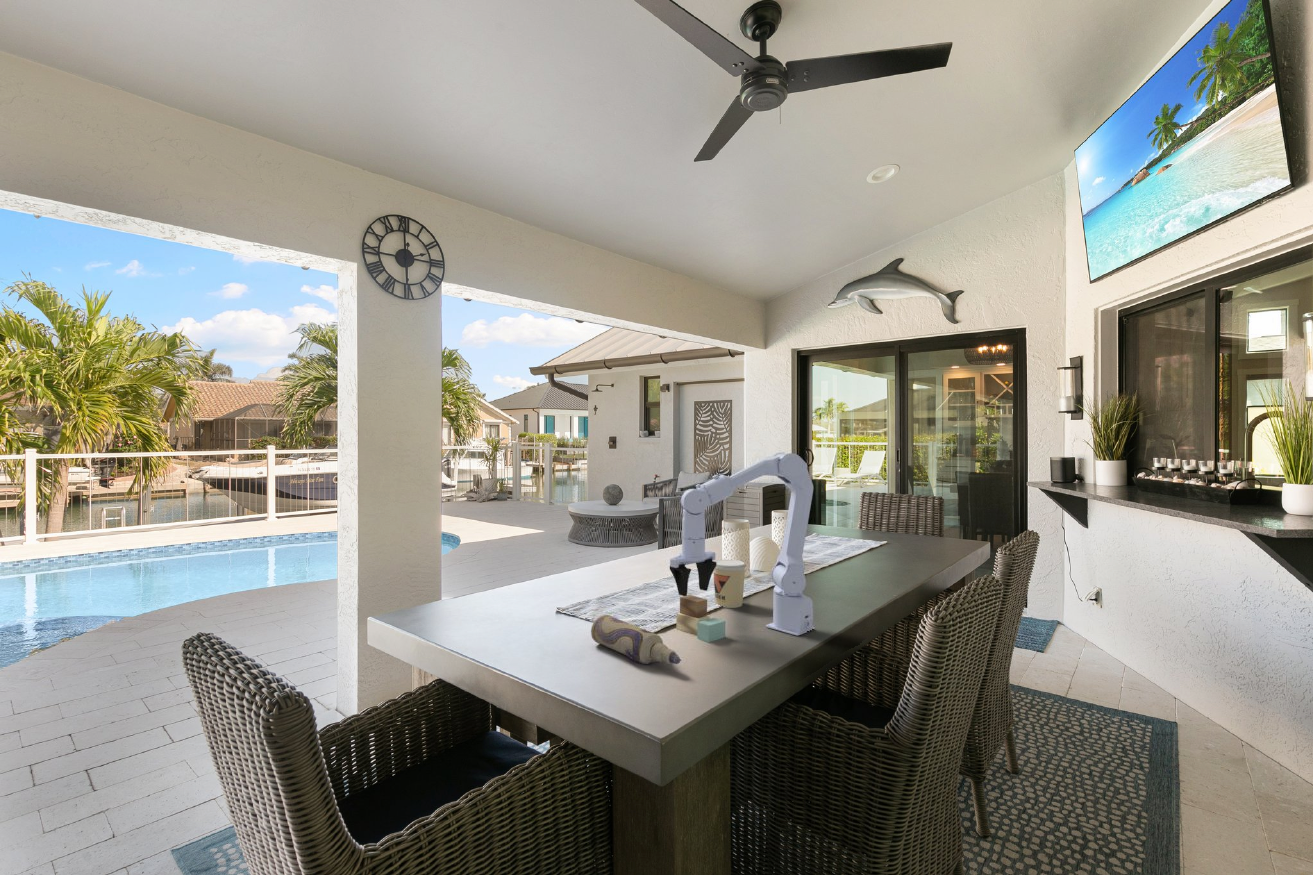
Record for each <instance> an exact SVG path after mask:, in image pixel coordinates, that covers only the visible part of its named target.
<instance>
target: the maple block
mask: <svg viewBox="0 0 1313 875" xmlns="http://www.w3.org/2000/svg"><path fill="white" fill-rule="evenodd" d="M708 619H711V615H709V614H707V616H704V617H701V618H694V617H691V616H688V615H684V614H681V613H680V612H678V613H676V627H675V628H676V630H678V631H681V632H685V633H688V634H691V635H695V636H697V634H698V622H701V621H704V620H708Z"/></svg>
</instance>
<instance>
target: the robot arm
mask: <svg viewBox="0 0 1313 875" xmlns="http://www.w3.org/2000/svg"><path fill="white" fill-rule="evenodd" d="M763 476H768V477H769V476H772V477H777V478H778V479H780V480H782V481H783V482H784V484H785V485H786V486H787V487H788V489H789V490H790V499H789V504H788V511H787V516H786V522H785V530H784V535H783V541H782V546H781V552H780V553H779V555H778V556H777V558H776V563H775V565H774V566H773V567H772V569H771V573H770V578H771V580H772V582H773V583H774V584H775V586H774V588H773V589H772V590H773V591H772V592H773V594H772V595H773V597H772V598H773V599H772V601H773V602H772V603H773V604H772V605H773V606H772V608H773V609H772V611H773V613H772V614H773V615H772V617H773V618H772V622H771V623H768V624H765V627H766V628H768V629H772V630H775V631H780V632H783V633H787V634H789V635H794V636H800V635H803V634H805V633H808V632H807V631H809V632H810V630H811V631H813V630H812V629H814V630H815V626H814V602H813V600H812V598H810V597H809V596H806V595H805V594H803V593H804V592H803V591H804V590H805V588H806V584H807V578H806V577H805V568H806V567H805V563H804V562H805V561H804V559H803V554H804V548H805V541H806V536H807V531H808V524H809V519H810V511H811V505H812V500H813V493H814V484H813V481H812V479H811V476H810V473H809V471H808V464H807V463H806V461H804V459H803V458H802V457H801V456H799V455H798V454H796V453H792V452H791V453H785V452H777V453H775V454H774V455H770V456H766V457H763V458H762V459H759V460H758V461H755V462H754V463H752V464H750V465H749V466H746V467H744V468H743V469H741V470H739V471H738V472H736V473H733V474H731V475H729V476H728V475H725V474H721V475H718V474H715V475H713V476H712V479H710V480H708V481H705V482H704V483H702V484H700V483H698V484H696V485H695V487H696V488H689V489H687V490H685V491H684V492H683V493H682V495H681V498H680V505H681V508H682V520H681V521H682V523H681V530H682V531H681V534H682V535H681V540H682V541H681V553H679V555H678V556H675V557H672V558H670V559H669V571H670V572H671V575H672V576H673V578H674V580H675V581H674V582H675V584H676V588H677V591H678V592H677V593H678V595H679V596H681V597H682V596H687V595H688V588H689V579H690V574H691V571H692V569H691V568H690V567H687V566H688V565H693V564H695V565H696V568H697V574H698V588H699V590H700V591H705V592H707V591H708V589H709V585H710V581H711V578H712V576H713V574H714V569H715V567H716V566H717V562H715V561H716V551H706V519H705V515H706V514H705V512H706V510H707V508H708V506H709V507H711V506H713V505H715V504H717V503H720V502H721V501H724V500H725V499H727V498H729V497H731V496H733V495H734V491H735V489H736V488H738V487H741V486H743V485H744V484H745V485H746V484H747V483H749V482H751V481H754V480H756V479H759V478H761V477H763Z"/></svg>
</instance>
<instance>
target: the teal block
mask: <svg viewBox="0 0 1313 875" xmlns="http://www.w3.org/2000/svg"><path fill="white" fill-rule="evenodd" d="M696 636H697V637H696V638H697V639H698V640H700V641H703V642H706V643H710V642H714V641H717V640H720V639H723V638H726V620H724V619H721V618H717V617H712V618H711V617H710V619H708V620H704V621H701V622H698V634H697V635H696Z"/></svg>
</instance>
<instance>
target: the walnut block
mask: <svg viewBox="0 0 1313 875" xmlns="http://www.w3.org/2000/svg"><path fill="white" fill-rule="evenodd" d="M679 613H681V614H684V615H688V616H691V617H694V618H701V617H704V616H707V615H708V599H706V598H704V597H699V596H697V595H692V594H687V596H682V595H681V596H680V597H679Z"/></svg>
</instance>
